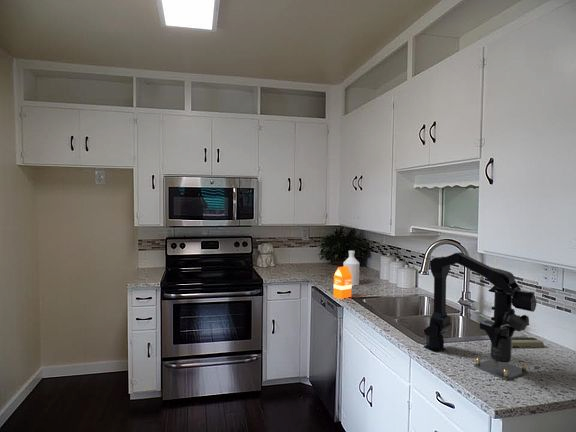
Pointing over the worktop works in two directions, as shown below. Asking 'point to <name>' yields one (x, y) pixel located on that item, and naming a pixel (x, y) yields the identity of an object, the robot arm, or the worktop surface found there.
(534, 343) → the olive rectangular tray
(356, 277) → the bottle
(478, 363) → the chassis plate
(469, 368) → the worktop surface
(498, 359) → the supplement bottle
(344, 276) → the orange juice
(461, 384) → the worktop surface
